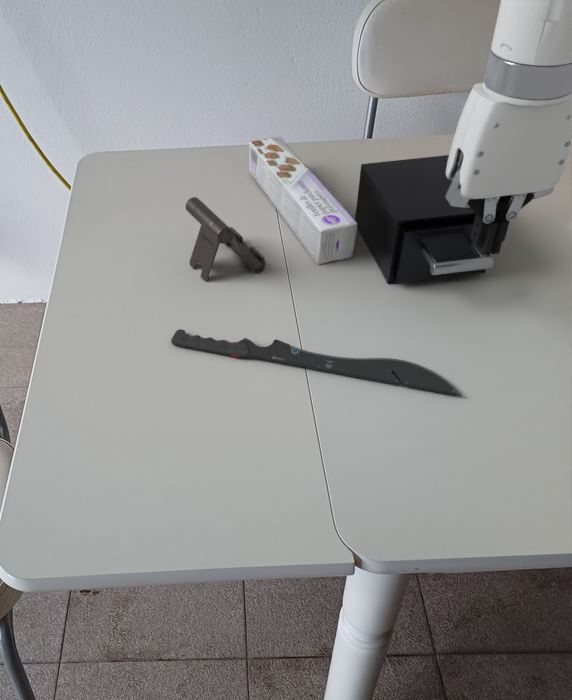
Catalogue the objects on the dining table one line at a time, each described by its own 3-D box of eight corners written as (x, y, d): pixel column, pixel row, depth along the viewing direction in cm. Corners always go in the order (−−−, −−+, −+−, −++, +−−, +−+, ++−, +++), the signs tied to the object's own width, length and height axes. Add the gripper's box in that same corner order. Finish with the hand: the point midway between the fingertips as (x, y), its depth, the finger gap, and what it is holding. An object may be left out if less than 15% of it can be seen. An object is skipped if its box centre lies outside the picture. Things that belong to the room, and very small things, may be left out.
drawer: (501, 294, 77) (518, 243, 72) (409, 306, 76) (419, 254, 71) (443, 217, 90) (453, 168, 85) (364, 226, 90) (370, 177, 85)
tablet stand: (266, 271, 84) (266, 215, 78) (213, 291, 82) (209, 234, 76) (232, 239, 90) (231, 185, 84) (182, 257, 87) (176, 202, 82)
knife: (462, 372, 69) (464, 368, 69) (461, 400, 66) (462, 396, 66) (182, 323, 77) (181, 319, 76) (169, 345, 74) (169, 342, 74)
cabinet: (484, 272, 82) (502, 209, 76) (387, 284, 81) (398, 221, 75) (439, 213, 93) (452, 154, 87) (354, 223, 92) (361, 163, 86)
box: (354, 257, 86) (359, 220, 82) (317, 266, 85) (320, 229, 81) (278, 167, 105) (279, 134, 101) (248, 173, 104) (247, 140, 100)
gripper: (589, 49, 60) (535, 220, 72) (432, 66, 59) (405, 237, 71) (637, 79, 54) (570, 259, 67) (465, 99, 53) (429, 277, 66)
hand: (484, 247), depth 69 cm, fingers closed
